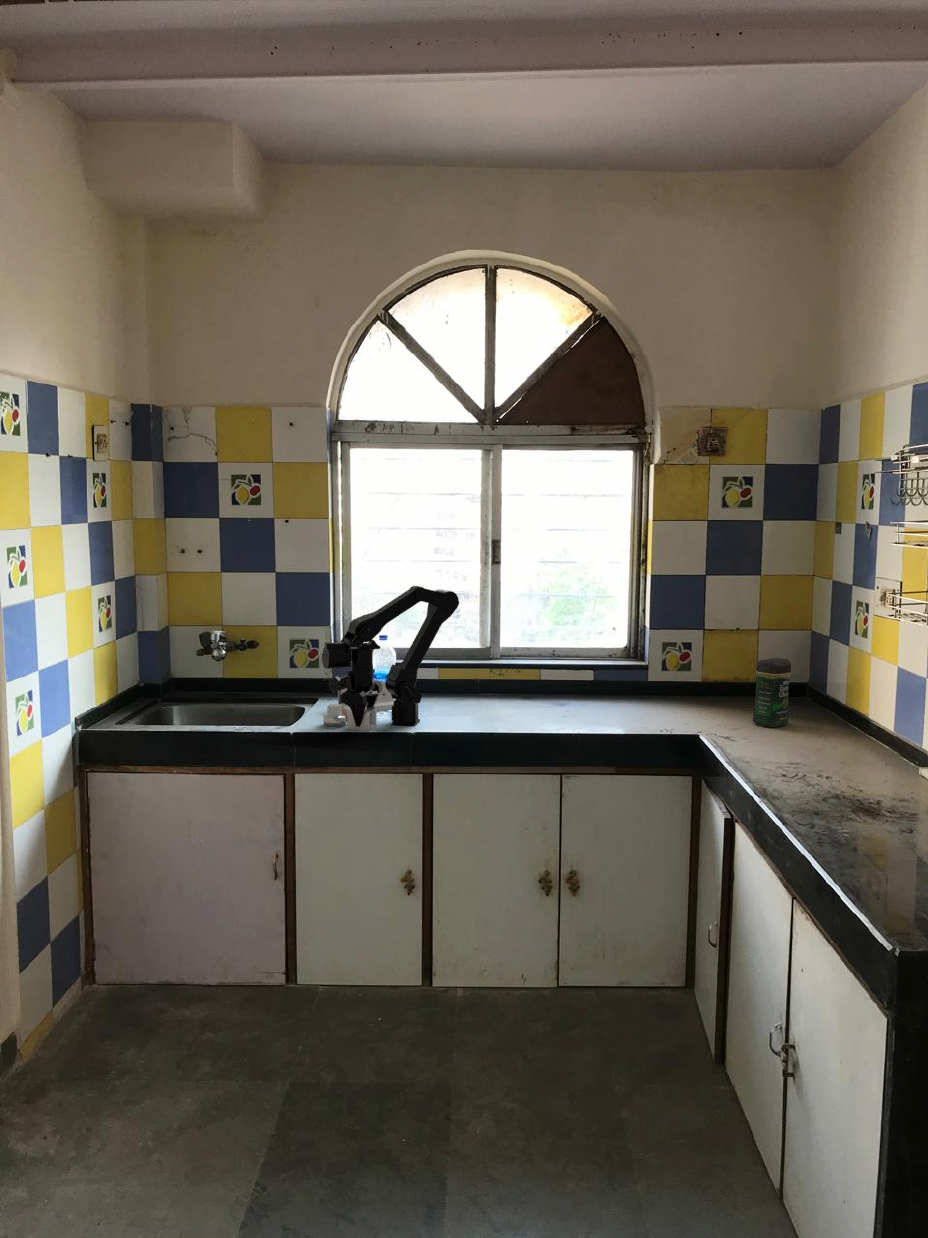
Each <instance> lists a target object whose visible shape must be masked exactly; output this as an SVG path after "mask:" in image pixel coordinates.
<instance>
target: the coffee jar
mask: <svg viewBox="0 0 928 1238" xmlns="http://www.w3.org/2000/svg"><path fill="white" fill-rule="evenodd" d="M791 675H792V662H790V660H789V659H786V658H779V657H772V658H771V657H770V658H766V659H760V660H759V661H757V663H756V667H755V677H756V689H755V698H754V705H753V706H754V707H753V715H752V723H753V724H755V725H757V726H759V727H771V728H777V727H779V728H780V727H782V726H783V727H784V726H786V725H787V724H788V723H789V688H790V687H789V685H790V679H791Z"/></svg>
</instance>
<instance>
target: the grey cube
mask: <svg viewBox="0 0 928 1238" xmlns="http://www.w3.org/2000/svg"><path fill="white" fill-rule="evenodd" d="M376 726H377V712H376V707H367V708H366V711H365V714H364V717H363V720H362V723H361V726H360V727H356V725H355V721H354V718H353V714H352V711H351V709H349V710H348V711H347V721H346V727H347V728H346V730H348V729H349V730H350V731H363V732H365V731H366V732H367V731H369V732H370V731H371V730H373V729H374V728H375V727H376Z"/></svg>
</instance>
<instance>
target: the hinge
mask: <svg viewBox="0 0 928 1238" xmlns="http://www.w3.org/2000/svg"><path fill="white" fill-rule="evenodd" d="M373 681H380V683H381V684H382V692H380V693H378V692H377V691H374V694H379V697H378V699H377V701H376V703H375V705H374V707H376V713H380V712H379V711H384V712H386V711H385V710H392V706H393V705H394V701H395V700H394V699H393V698H392V696H391V693H390V692H388V691H387V689H386V685H385V682H386V681H382V680H378V679H377V680H376V679H373ZM345 691H347V688H346V689H343V690H340V691H337V704H342V710H349V709H350V707H349V706H347V705H345V704H344V703H340V695H341V694H342V693H343V692H345Z"/></svg>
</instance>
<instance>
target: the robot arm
mask: <svg viewBox="0 0 928 1238" xmlns="http://www.w3.org/2000/svg"><path fill="white" fill-rule="evenodd" d="M421 602H423V603H427V607H426V608H427V611H426V616H425V619H424V621H423V622H422V624H421V626H420V628H419V630H418V632H417V634H416V635H415V637H414V639H413V642H412V643H411V645H410V646H409V649H408V651H407V653H406V654H405V656H404V658H403V660H402V662H400V663H399V664H398V665H396V664H391V666H390V667H389V668H390V669H389V671H388V673H387V674H386V675H385V676H384V677H385V681H384V682H385V685H386V689H387V691H388V692H390V693H391V696H392V698H393V701H394V705H393V706H392V711H391V721H392V722H391V725H396V726H412V727H413V726H416V725H417V724H418V723H420V721H421V719H420V718H419V704H420V703H421V700H422V698H423V695H422V694H421V693H420V692H419V691H418V690H417V689H416V688H415V686H416V684H417V681H418V680H417V679H418V671H419V667H420V666H421V665H422V662H423V660H424V658H425V656H426V654H428V653H427V652H429V649H430V647H431V645H432V644H433V641H434V639H435V637H436V636H437V634H438V633H439V631H440V628H441V626H442V625H443V624H444V623H445V622H446V621H447V620H449V618H451V617H452V615H453V614H454V612H455V611H456V610H457V609H458V607H459V605H460V600H459V596H458V594H456V592H454V591H452V590H447V589H446V590H445V589H440V588H439V589H436V590H434V589H433V590H432V589H428V588H426V587H423V586H419V585H412V586H410V588H408V589H407V590H406V591H404V592H403V593H402V594H399V595H398V596H396V597H395V598H394V599H392V600H391V601H389V602H387V603H386V604H385V605H383V606H381V607H380V608H379V609H377V610H375V611H373V612H370V613H366V614H363V615H361V616H358V617H356V618H354V619H352V620H351V621H350V622H349V624H348V628H347V629H348V630H346V632H345V634H344V635H343V637H342V639H341V640H340V642H328V641H327V642H324V647H323V648H322V653H321V662H322V666H323V668H324V669H343V668H348V667H349V666H350V670H348V671H347V674H346V675H345V676H344V675H343V676H342V677H339V676H334V677H331V678H330V681H329V683H328V684H329V686H328V688H329V690H330V689H331V691H332V693H333V694H336V693H338V691H340V690H343V689H346V688H347V691H345V692H343V693H342V694H341V695H340V703H344V704H345V705H347V706H349V707H350V709H351V711H352V714H353V718H354V721H355V725H356V727H360V726H361V723H362V720H363V717H364V714H365V711H366V708H367V707H374V705H375V703H376V701H377V699H378V697H379V694H374V691H377V692H378V693H380V692H382V684H381V683H380V681H381V680H378V681H373V680H374V678H373V677H374V676H373V674H375V673H376V669H375V668H374V667H373V666H374V665H373V653H374V652H373V651H374V650H380V649H381V645H379V644H377V642H376V641H375V640H374V639H375V637H377V636H378V634H380V633H381V631H382V630H383V629H384V627H385V626H386V625H387V624H388V623H391V622H392V621H393V620H394V619H396V618H398V617H399V616H400V615H402V614H403V613H405V612H407V611H408V610H409V609H411V608H412V607H414V606H416V605H417V604H418V603H421Z"/></svg>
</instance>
